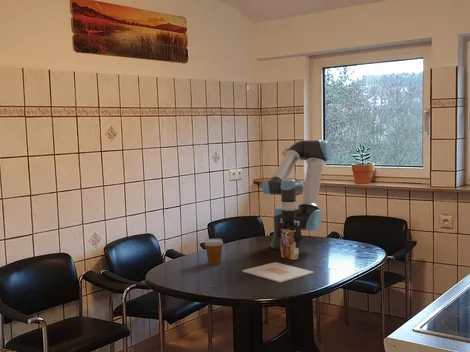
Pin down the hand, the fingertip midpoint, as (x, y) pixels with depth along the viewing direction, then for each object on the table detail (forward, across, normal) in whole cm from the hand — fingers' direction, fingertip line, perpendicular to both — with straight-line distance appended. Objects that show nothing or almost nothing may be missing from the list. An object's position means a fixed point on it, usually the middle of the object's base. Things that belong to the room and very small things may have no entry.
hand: (289, 252), depth 285 cm
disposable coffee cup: (+4, -21, -33) cm, 39 cm away
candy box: (+3, 0, 0) cm, 3 cm away
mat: (+3, +14, -22) cm, 27 cm away
